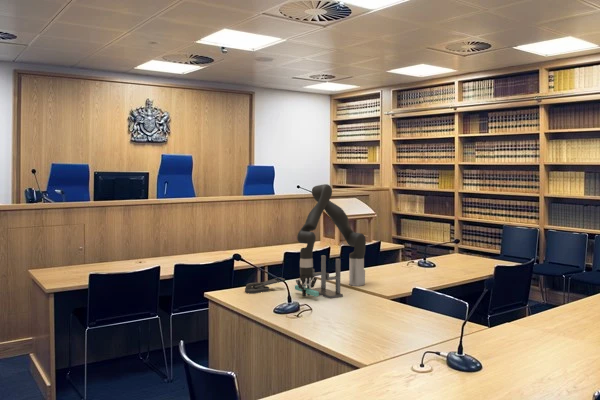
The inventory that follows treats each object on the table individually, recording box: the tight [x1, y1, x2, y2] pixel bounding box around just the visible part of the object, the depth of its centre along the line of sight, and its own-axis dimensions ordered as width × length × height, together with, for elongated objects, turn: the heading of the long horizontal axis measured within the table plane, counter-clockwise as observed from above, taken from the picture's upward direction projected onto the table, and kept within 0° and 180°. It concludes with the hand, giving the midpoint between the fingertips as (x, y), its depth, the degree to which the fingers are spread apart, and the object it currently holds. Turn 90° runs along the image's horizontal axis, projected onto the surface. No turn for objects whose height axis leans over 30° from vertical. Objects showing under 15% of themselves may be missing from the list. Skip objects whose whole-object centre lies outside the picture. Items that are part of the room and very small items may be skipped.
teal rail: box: [294, 284, 320, 297], centre depth 306 cm, size 2×22×2 cm, turn 32°
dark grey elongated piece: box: [244, 276, 286, 295], centre depth 323 cm, size 9×7×25 cm
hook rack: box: [311, 254, 344, 300], centre depth 313 cm, size 9×22×22 cm, turn 32°
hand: (306, 295), depth 307 cm, fingers closed on teal rail, 2 cm apart
